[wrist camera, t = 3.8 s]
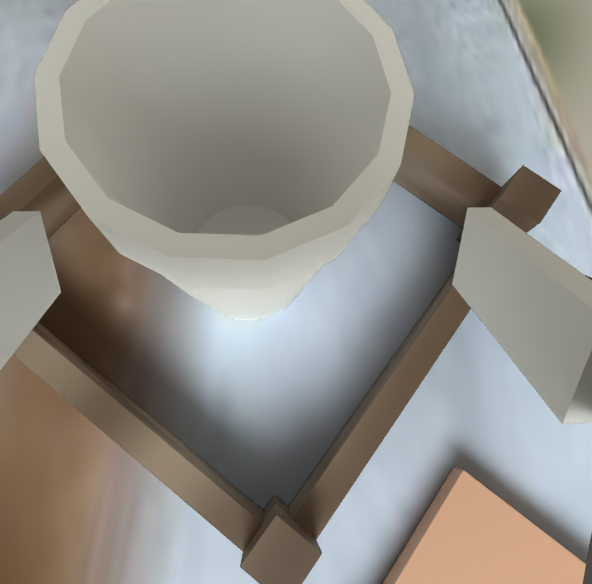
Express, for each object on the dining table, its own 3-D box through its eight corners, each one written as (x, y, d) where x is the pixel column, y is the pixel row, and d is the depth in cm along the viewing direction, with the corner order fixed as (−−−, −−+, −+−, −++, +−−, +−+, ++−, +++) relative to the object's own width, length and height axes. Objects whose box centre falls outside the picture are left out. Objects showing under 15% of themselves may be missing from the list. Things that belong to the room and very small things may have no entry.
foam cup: (241, 150, 26) (216, -106, 13) (372, 250, 25) (481, 71, 12) (117, 273, 23) (-52, 100, 11) (256, 391, 22) (244, 346, 10)
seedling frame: (-40, 291, 23) (-121, 255, 18) (224, 41, 28) (215, -38, 23) (281, 564, 20) (286, 606, 15) (505, 234, 25) (561, 190, 21)
